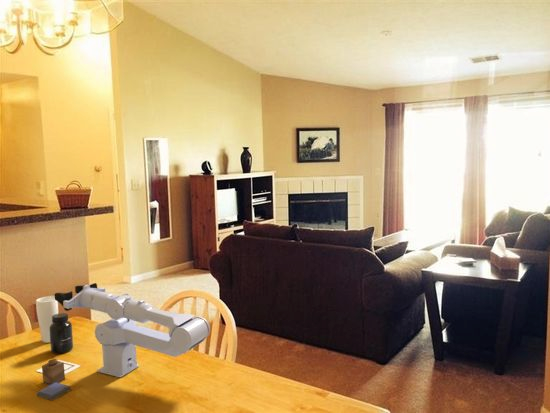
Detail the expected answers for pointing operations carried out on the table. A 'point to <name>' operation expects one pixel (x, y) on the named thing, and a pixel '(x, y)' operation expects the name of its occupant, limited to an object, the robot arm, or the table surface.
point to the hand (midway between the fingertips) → (66, 292)
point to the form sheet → (66, 367)
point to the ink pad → (53, 391)
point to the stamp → (53, 372)
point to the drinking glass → (46, 315)
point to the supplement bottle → (61, 334)
